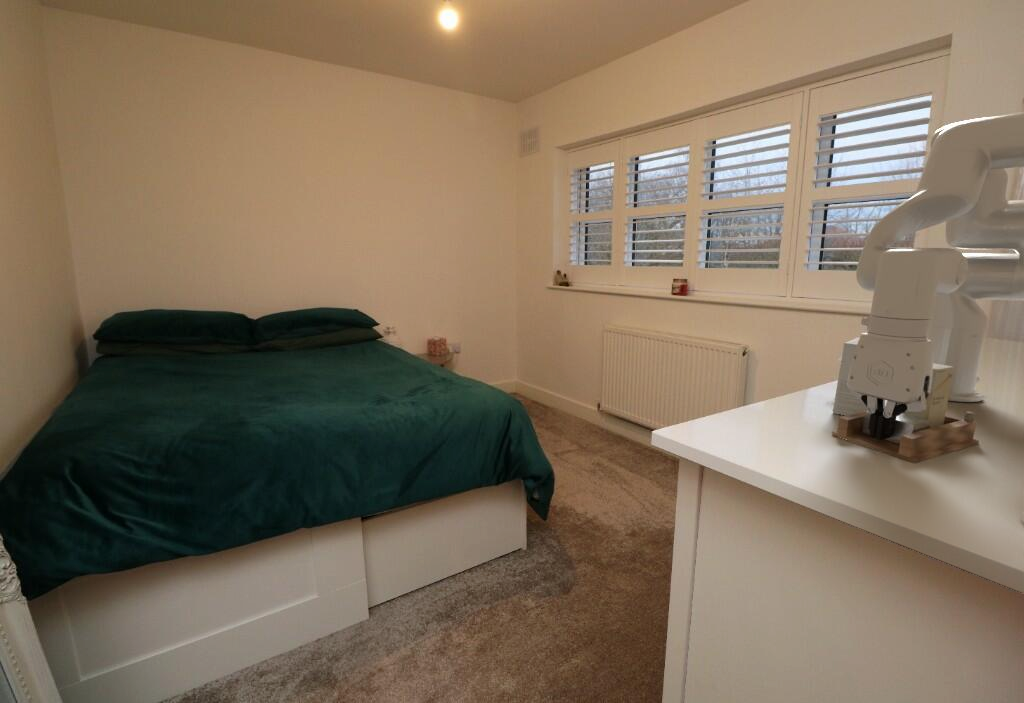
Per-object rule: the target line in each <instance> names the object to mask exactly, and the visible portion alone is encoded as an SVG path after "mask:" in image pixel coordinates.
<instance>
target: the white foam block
mask: <svg viewBox="0 0 1024 703" xmlns="http://www.w3.org/2000/svg"><path fill="white" fill-rule="evenodd" d="M870 415H871V413H869V412H868V411H865V415H864V422H863V428H862V432H863V433H866V434H869V433H870V430H869V429H868V427H869V421H870ZM930 425H931V420H927V419H923V418H919V417H916V416H912V415H908V414H904V413H902V414H900V415H899V416H896V422H895V428H894V433H893V435H892V436H891V437H890V438H887V439H885V440H888V441H891V442H895V443H898V444H900V441H901V436H902V435H906V434H910V433H914V432H918V431H922V430H925V429H929V428H930Z"/></svg>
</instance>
